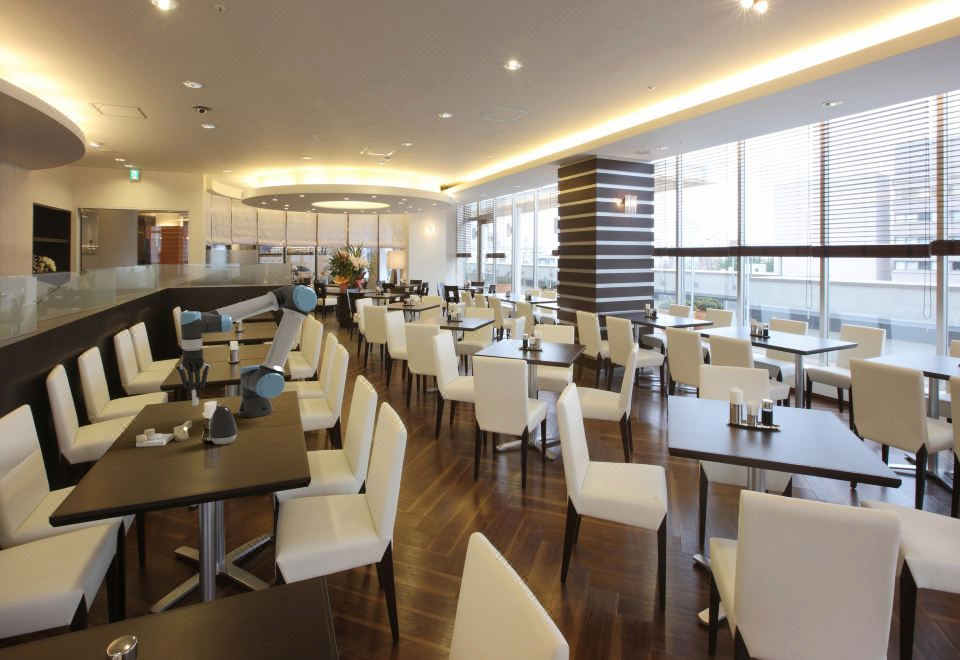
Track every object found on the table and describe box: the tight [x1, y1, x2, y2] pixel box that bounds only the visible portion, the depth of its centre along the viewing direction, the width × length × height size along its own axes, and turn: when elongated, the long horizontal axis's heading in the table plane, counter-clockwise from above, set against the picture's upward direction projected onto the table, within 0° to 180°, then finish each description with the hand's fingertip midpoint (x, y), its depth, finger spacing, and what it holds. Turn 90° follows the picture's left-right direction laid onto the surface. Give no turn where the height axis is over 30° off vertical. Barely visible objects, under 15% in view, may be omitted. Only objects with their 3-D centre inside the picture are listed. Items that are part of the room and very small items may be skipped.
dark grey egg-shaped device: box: [208, 405, 238, 445], centre depth 216 cm, size 10×10×15 cm
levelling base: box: [135, 428, 175, 448], centre depth 218 cm, size 10×14×4 cm
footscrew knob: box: [173, 420, 193, 442], centre depth 223 cm, size 12×5×5 cm, turn 9°
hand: (195, 404), depth 226 cm, fingers closed
